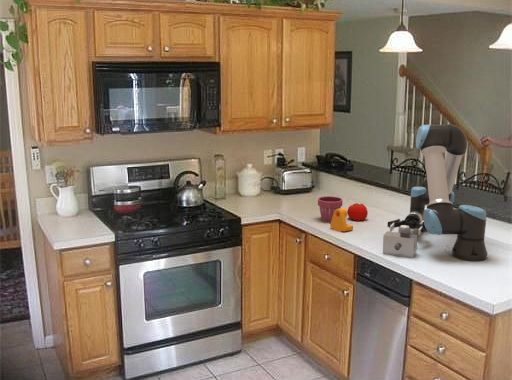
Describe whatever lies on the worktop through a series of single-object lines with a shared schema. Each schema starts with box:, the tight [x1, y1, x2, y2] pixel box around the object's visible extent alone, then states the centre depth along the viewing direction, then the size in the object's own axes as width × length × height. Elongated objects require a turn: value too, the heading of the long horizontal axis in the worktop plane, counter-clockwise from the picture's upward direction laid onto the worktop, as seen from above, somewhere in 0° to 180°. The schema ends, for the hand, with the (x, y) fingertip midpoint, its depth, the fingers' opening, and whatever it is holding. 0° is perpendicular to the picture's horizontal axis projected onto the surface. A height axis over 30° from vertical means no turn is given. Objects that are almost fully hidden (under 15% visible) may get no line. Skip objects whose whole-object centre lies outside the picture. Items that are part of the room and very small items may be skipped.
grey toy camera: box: [382, 230, 418, 259], centre depth 251 cm, size 14×20×11 cm
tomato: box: [347, 202, 369, 222], centre depth 308 cm, size 11×12×9 cm
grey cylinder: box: [397, 225, 412, 233], centre depth 255 cm, size 6×6×11 cm
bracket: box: [329, 207, 354, 232], centre depth 288 cm, size 11×7×12 cm, turn 36°
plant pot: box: [317, 195, 343, 223], centre depth 306 cm, size 14×14×13 cm
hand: (404, 230), depth 256 cm, fingers open, 13 cm apart
